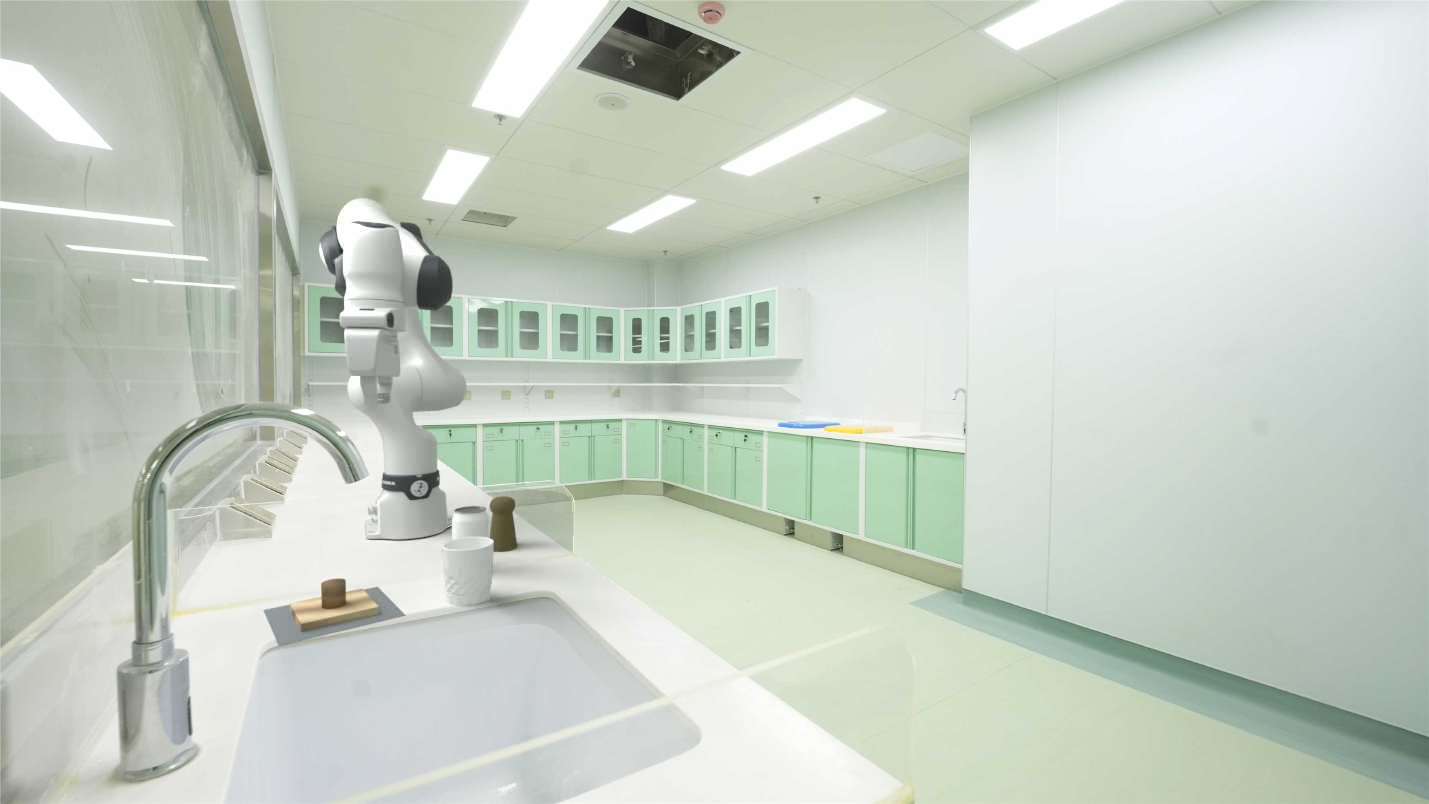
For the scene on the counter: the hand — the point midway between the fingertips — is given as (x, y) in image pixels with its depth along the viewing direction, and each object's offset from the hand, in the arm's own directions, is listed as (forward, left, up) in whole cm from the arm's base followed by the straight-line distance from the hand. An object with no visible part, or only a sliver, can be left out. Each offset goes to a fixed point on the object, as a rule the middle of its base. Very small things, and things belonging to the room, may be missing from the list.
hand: (378, 404), depth 102 cm
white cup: (+11, +10, -33) cm, 36 cm away
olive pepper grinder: (-15, +27, -33) cm, 45 cm away
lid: (+4, -8, -32) cm, 33 cm away
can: (-4, +16, -33) cm, 37 cm away
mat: (+4, -8, -33) cm, 34 cm away
